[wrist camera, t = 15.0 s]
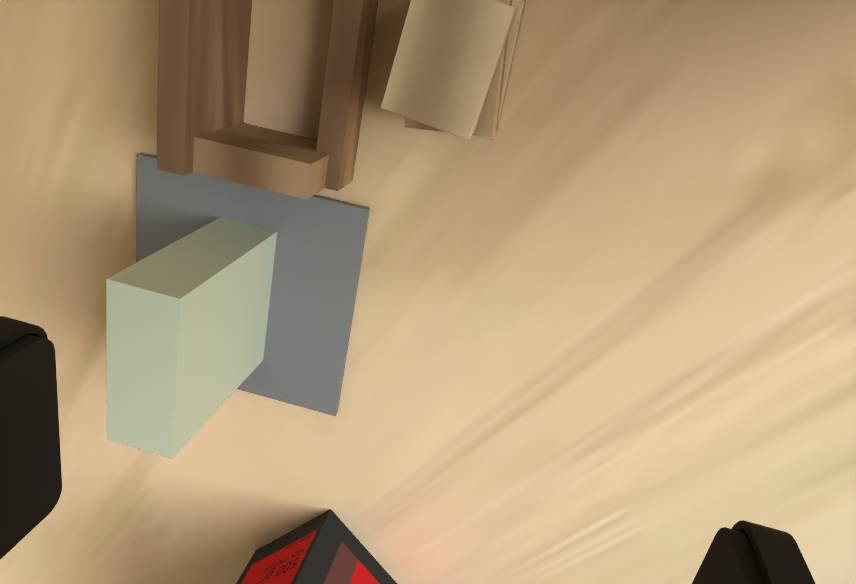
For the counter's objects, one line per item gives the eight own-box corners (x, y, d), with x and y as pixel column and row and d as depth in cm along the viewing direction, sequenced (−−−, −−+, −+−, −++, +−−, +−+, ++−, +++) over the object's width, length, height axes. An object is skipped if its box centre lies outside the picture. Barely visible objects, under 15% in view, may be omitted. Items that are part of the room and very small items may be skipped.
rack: (396, -128, 34) (359, -166, 28) (352, 180, 41) (314, 207, 35) (235, -158, 35) (163, -201, 29) (217, 148, 42) (156, 169, 36)
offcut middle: (513, -10, 33) (509, -14, 30) (497, 128, 36) (492, 136, 33) (426, -17, 34) (414, -22, 31) (416, 120, 36) (404, 127, 34)
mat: (369, 207, 42) (367, 209, 41) (337, 412, 48) (335, 416, 47) (141, 152, 43) (137, 154, 43) (139, 357, 49) (135, 360, 49)
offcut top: (517, 9, 31) (513, 6, 28) (475, 131, 33) (467, 139, 30) (431, -21, 31) (418, -27, 28) (395, 101, 33) (380, 107, 31)
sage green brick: (277, 231, 43) (180, 299, 32) (263, 359, 47) (172, 459, 36) (221, 217, 43) (106, 278, 32) (211, 345, 47) (106, 439, 36)
